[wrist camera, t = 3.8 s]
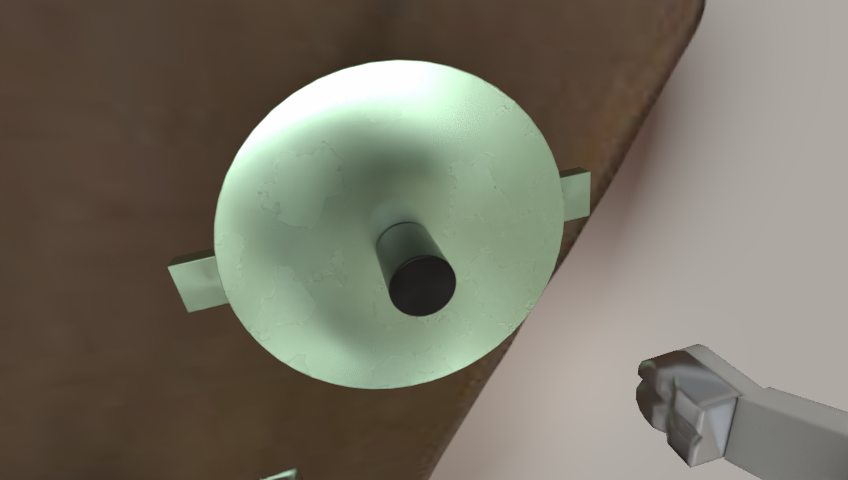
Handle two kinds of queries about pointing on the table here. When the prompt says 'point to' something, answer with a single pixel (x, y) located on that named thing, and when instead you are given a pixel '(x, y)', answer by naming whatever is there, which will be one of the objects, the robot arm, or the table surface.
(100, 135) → the table surface
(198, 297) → the pot
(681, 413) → the robot arm
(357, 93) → the lid
